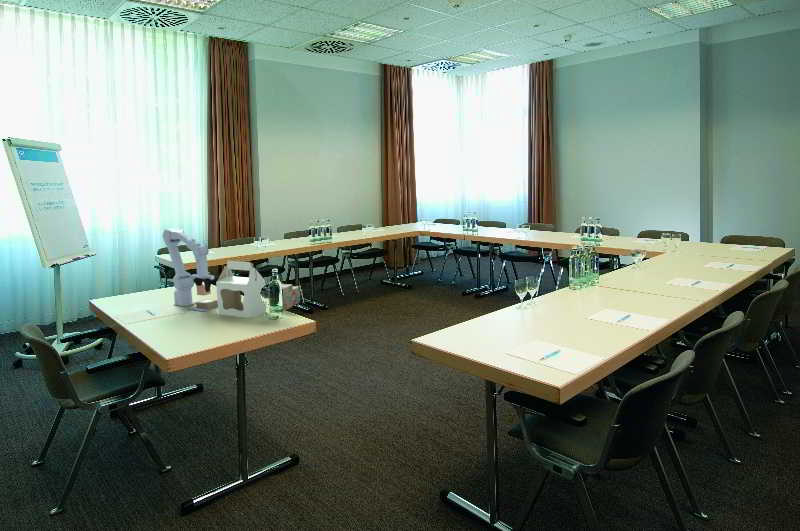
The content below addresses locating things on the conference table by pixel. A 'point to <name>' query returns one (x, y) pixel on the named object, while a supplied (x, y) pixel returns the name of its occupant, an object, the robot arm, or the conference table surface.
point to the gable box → (231, 291)
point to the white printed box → (290, 295)
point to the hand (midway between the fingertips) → (204, 291)
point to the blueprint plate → (205, 305)
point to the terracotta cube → (202, 290)
